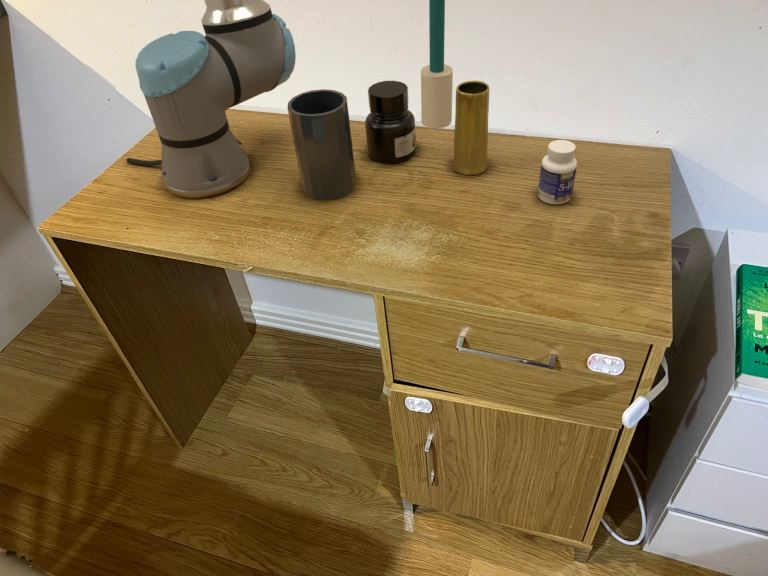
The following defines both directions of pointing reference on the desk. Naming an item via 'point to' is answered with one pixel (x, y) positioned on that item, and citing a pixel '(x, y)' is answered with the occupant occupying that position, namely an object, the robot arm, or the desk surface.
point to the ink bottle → (390, 123)
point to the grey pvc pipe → (323, 143)
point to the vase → (471, 128)
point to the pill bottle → (557, 173)
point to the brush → (436, 73)
